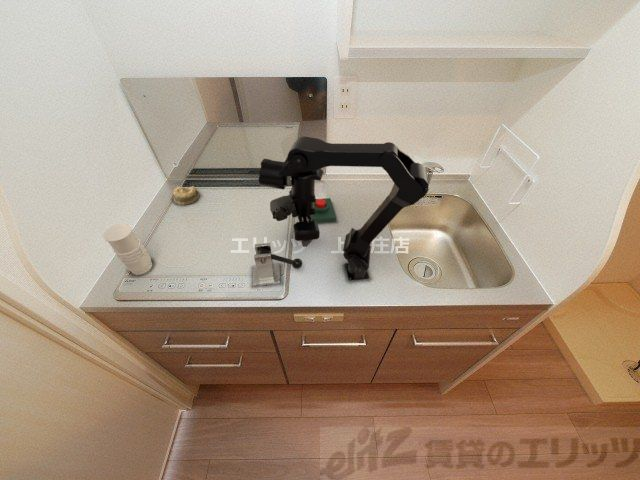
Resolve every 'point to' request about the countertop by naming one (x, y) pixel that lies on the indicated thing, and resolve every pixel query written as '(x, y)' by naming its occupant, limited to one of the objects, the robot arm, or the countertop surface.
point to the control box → (324, 212)
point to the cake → (185, 195)
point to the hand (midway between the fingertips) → (303, 234)
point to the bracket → (265, 267)
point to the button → (320, 203)
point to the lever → (282, 258)
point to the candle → (128, 248)
